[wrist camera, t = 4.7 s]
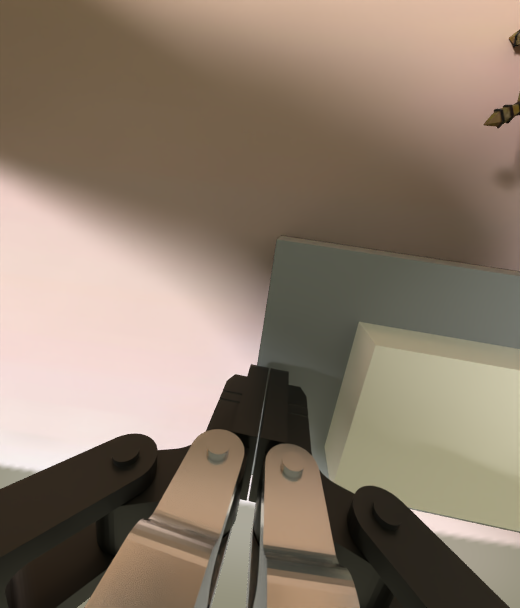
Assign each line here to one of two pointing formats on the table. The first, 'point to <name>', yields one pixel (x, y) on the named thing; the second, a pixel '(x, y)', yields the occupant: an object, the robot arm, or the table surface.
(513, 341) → the gray board
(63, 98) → the table surface
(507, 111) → the game die
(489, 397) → the ivory tile
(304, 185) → the table surface
